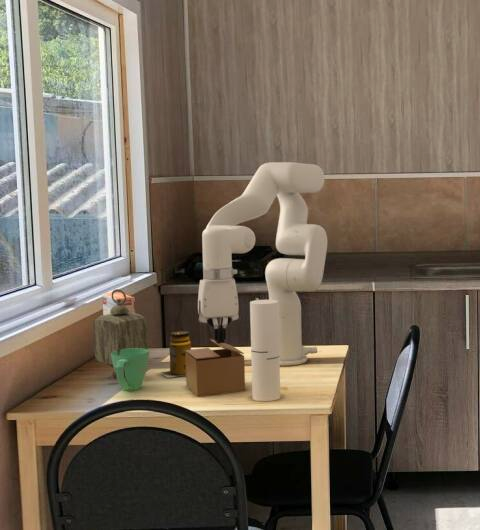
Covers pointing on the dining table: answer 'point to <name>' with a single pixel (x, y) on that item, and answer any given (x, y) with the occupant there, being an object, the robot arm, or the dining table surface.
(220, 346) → the flap
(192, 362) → the carton
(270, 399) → the cylindrical container
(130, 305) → the cracker box
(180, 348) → the condiment
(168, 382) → the dining table surface
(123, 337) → the tabletop clock
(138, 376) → the mug
